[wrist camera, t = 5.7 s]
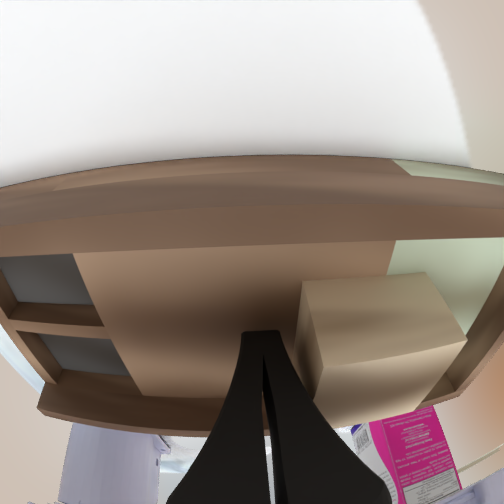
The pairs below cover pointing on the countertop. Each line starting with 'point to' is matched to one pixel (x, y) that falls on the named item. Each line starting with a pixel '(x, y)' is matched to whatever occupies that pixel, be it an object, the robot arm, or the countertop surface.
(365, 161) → the compartment tray
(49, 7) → the countertop surface
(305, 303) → the birch block
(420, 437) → the supplement box
